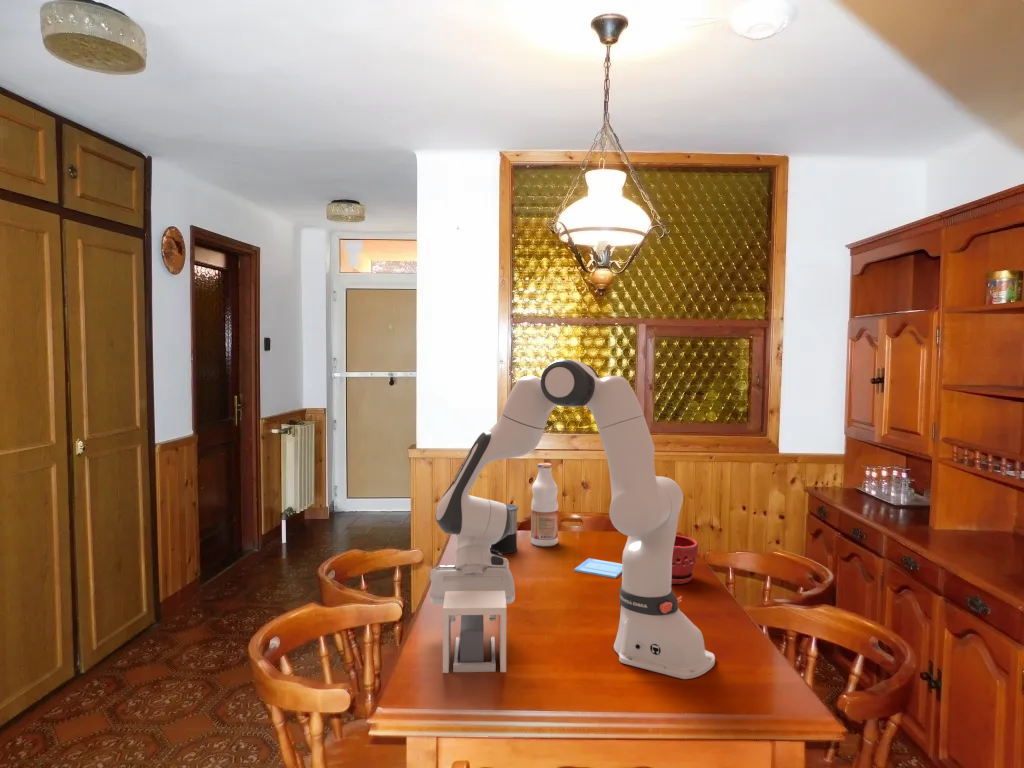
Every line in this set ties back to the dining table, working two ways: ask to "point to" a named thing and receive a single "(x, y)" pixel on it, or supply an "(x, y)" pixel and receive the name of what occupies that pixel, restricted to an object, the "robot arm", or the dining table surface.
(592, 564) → the light blue flat slab
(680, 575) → the plant pot
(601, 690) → the dining table surface
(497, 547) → the milk frother
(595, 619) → the dining table surface
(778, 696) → the dining table surface
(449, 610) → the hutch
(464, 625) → the grey block
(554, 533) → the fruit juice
